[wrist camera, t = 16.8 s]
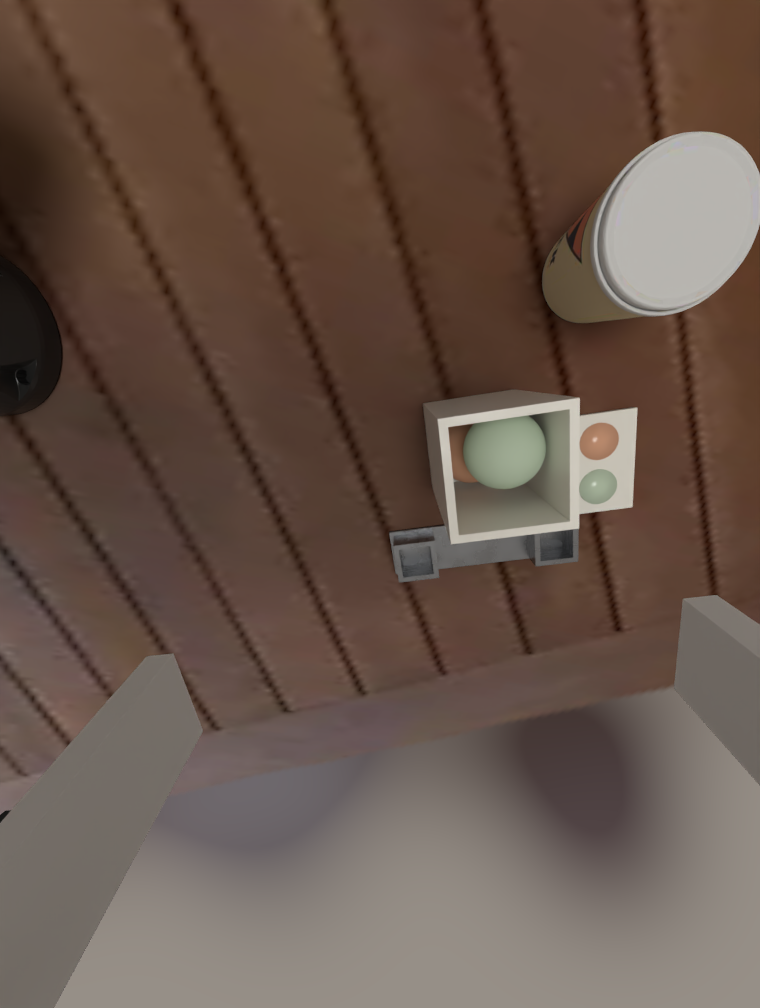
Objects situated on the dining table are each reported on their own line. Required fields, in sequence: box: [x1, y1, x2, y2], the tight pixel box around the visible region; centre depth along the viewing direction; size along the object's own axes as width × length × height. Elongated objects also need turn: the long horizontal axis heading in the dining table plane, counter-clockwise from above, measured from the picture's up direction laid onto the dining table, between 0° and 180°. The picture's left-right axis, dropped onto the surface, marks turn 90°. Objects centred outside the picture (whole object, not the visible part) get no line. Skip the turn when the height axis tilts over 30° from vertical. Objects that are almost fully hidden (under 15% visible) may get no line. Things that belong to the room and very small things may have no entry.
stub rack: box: [389, 525, 578, 582], centre depth 41 cm, size 5×19×3 cm, turn 99°
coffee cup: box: [542, 132, 760, 323], centre depth 28 cm, size 9×9×12 cm
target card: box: [579, 407, 637, 514], centre depth 39 cm, size 10×7×1 cm
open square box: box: [423, 389, 580, 544], centre depth 32 cm, size 9×9×14 cm
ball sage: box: [463, 415, 546, 489], centre depth 30 cm, size 6×6×6 cm
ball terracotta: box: [448, 423, 479, 483], centre depth 35 cm, size 6×6×6 cm
